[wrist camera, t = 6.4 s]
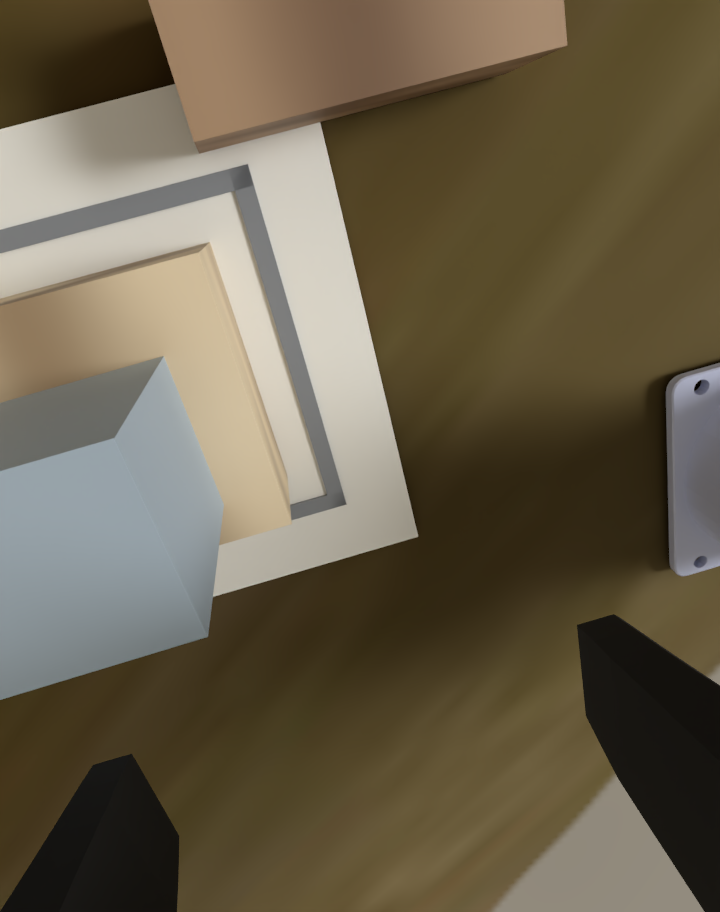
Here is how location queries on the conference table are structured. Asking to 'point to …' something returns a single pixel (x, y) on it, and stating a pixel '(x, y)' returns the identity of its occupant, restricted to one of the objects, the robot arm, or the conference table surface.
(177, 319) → the maple slab
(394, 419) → the conference table surface
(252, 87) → the walnut bar
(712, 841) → the robot arm
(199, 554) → the grey rectangular block
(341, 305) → the white square board
